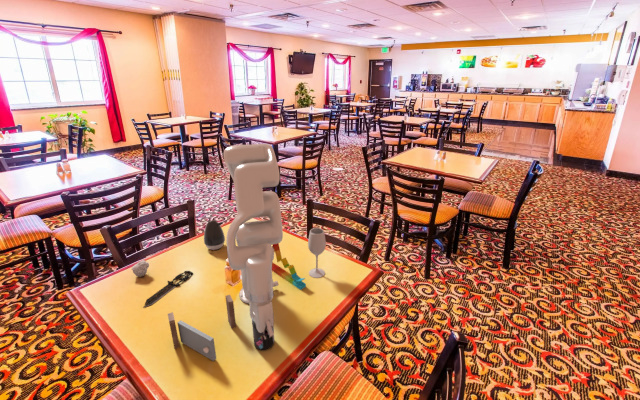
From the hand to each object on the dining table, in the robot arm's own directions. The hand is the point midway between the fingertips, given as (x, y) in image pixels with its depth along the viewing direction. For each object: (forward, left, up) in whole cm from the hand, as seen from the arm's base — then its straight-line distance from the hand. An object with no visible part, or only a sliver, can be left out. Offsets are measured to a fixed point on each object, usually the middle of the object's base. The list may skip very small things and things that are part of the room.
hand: (263, 337), depth 105 cm
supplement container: (0, 0, -3) cm, 3 cm away
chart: (-21, -35, -3) cm, 41 cm away
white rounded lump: (+33, -63, -3) cm, 71 cm away
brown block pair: (+16, -14, -2) cm, 21 cm away
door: (+20, -7, -2) cm, 21 cm away
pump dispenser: (-1, -73, -3) cm, 73 cm away
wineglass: (-35, -27, -3) cm, 44 cm away
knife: (+24, -47, -3) cm, 53 cm away
